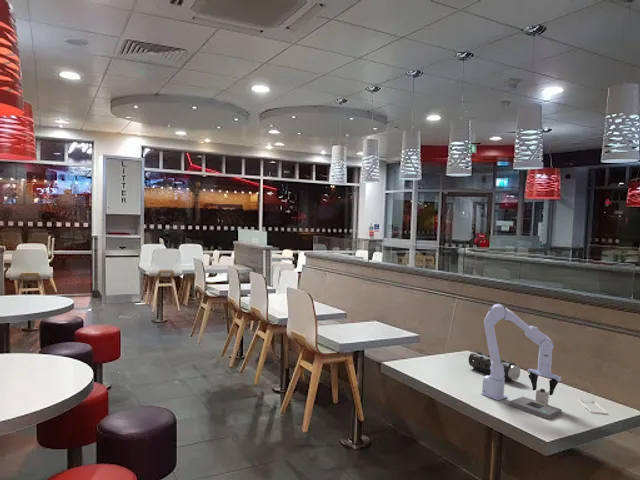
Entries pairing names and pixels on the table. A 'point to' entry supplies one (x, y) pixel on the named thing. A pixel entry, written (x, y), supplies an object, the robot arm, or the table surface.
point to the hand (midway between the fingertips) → (542, 392)
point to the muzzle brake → (484, 364)
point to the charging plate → (543, 410)
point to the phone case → (594, 411)
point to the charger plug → (542, 396)
